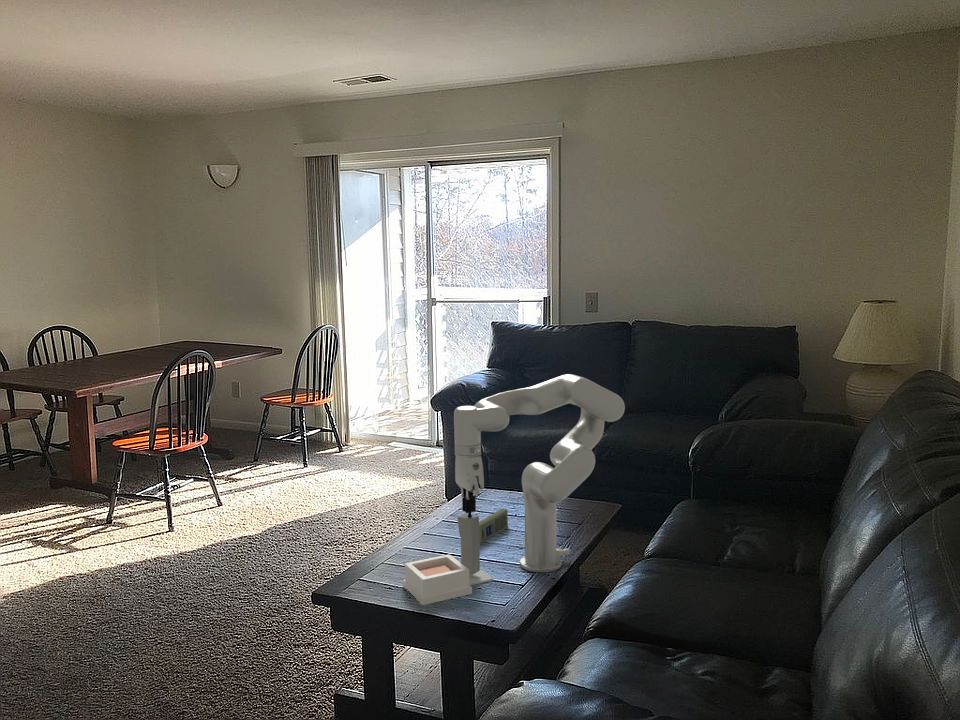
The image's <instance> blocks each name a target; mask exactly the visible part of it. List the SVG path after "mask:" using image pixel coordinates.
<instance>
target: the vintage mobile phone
mask: <svg viewBox="0 0 960 720" xmlns="http://www.w3.org/2000/svg"><path fill="white" fill-rule="evenodd" d="M479 522H480V517H479V516H477V515H473V514H472V512H470V513H463V514H460V515H459V516H457V523H458V524H457V526H458V534H459V536H460V559H461V562H460V563H461V564H463V565H464V566H465V567H466V568H468V569H469V574H470V575H473V574H475V573H477V572H478V571H480V569H481V567H480V566H481V562H480V561H481V560H480V557H481V556H480V553H481V552H480V551H481V550H480V545H479Z"/></svg>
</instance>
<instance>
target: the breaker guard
mask: <svg viewBox="0 0 960 720" xmlns="http://www.w3.org/2000/svg"><path fill="white" fill-rule="evenodd" d="M442 565H445V566H446V567H447V568H449V569H450V570H451V571H449V572H445V573H440V574H436V575H431V576H424V575H423V574H422V573H421V572H420V571H419V570H424V569H428V568H433V567H438V566H442ZM402 587H403V588H404V589H405V590H406V589H407V590H406V591H407V592H408V591H409V592H410V593H411V594H412V595H413V596H414V597H415V598H416V601H417V602H418V603H420V605H422V606H426V605H429V604H434V603H438V602H442V601H447V600H451V598H452V599H454V598H455V599H456V598H459V597H464V596H467V595H472V594H473V587H472V585H471V586H470V585H469V569H468V568H466V567H465V566H464V565H463V564H461V562H460V561H459V560H457V559H456V557H454V556H452V555H451V554H450V553H449V554H445V555H444V554H443V555H440V556H439V555H438V556H434V557H429V558H425V559H420V560H419V559H418V560H415V561H414V560H413V561H410V562H406V563H404V579H403V580H402ZM409 592H408V593H409ZM410 593H409V594H410ZM411 594H410V595H411ZM412 595H411V596H412ZM413 596H412V597H413ZM414 597H413V598H414ZM415 598H414V599H415Z"/></svg>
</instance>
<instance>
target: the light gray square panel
mask: <svg viewBox="0 0 960 720" xmlns="http://www.w3.org/2000/svg"><path fill="white" fill-rule="evenodd" d="M492 581H494V578H493V576H491V575H489V574H488V573H487V572H485V571H484V570H482V569H481V568H480V571H478V572H477V573H475V574H473V575H470V574H469V585H470V586H471V587H472V586H476V585H479V584H484V583H488V582H492Z"/></svg>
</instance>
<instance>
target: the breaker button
mask: <svg viewBox="0 0 960 720" xmlns="http://www.w3.org/2000/svg"><path fill="white" fill-rule="evenodd" d="M419 571H420V572H421V573H422V574H423V575H424V576H431V575H436V574H440V573H445V572H449V571H451V570H450V569H449V568H447V567H446V566H445V565H442V566H438V567H433V568H428V569H424V570H419Z"/></svg>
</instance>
